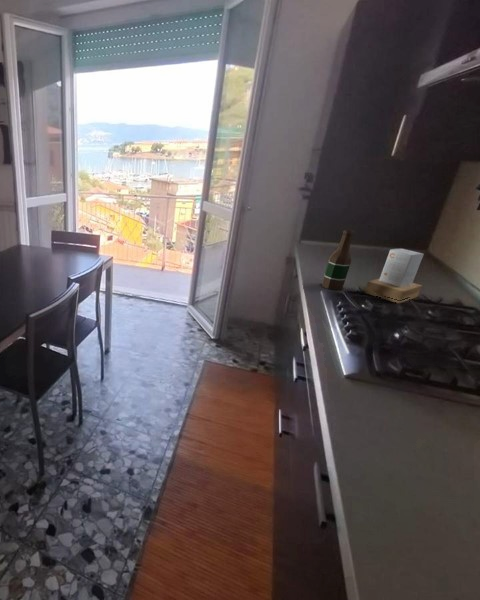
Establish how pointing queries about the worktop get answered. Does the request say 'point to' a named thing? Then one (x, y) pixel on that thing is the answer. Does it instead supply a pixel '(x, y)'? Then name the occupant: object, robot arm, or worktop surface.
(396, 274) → the small box
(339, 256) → the beer bottle
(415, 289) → the birch block
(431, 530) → the worktop surface
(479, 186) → the robot arm
